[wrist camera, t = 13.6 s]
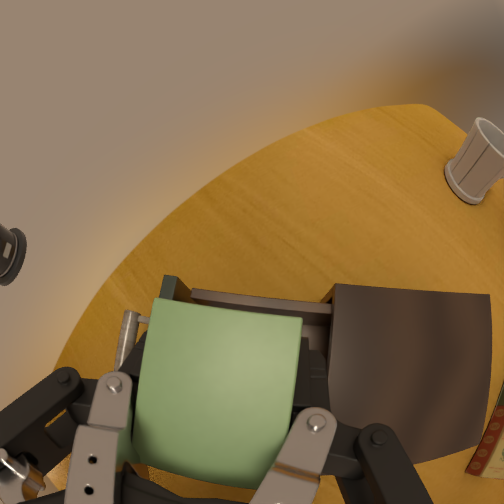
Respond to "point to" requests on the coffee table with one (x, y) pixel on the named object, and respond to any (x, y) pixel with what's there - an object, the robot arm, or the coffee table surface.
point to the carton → (491, 447)
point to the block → (215, 391)
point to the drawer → (175, 289)
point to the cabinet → (411, 365)
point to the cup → (477, 162)
